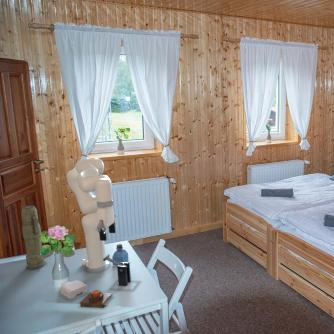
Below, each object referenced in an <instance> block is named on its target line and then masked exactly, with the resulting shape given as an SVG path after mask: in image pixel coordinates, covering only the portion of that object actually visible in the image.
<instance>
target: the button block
mask: <svg viewBox="0 0 334 334" xmlns="http://www.w3.org/2000/svg"><path fill="white" fill-rule="evenodd" d="M99 291H100V295H99V296H97V297H92V291H91V292H89V293H87V295H86V296H85V297H83V299H82V300H81V301H80V302H79V306H80V307H81V308H93V309H104V308H105V306H106V303H107V302H108V300H110V298H111V297H113V296H112V295H113V294H112V293H109V292H108V293H107V292H104V291H102V290H99Z"/></svg>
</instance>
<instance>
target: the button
mask: <svg viewBox="0 0 334 334" xmlns="http://www.w3.org/2000/svg"><path fill="white" fill-rule="evenodd" d="M100 291H101V290H99V289H93V290H92V291H91V293H92V297H97V296H99V295H100Z"/></svg>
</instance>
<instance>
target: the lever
mask: <svg viewBox="0 0 334 334" xmlns="http://www.w3.org/2000/svg"><path fill="white" fill-rule="evenodd" d="M105 260H106V261H107V262H109V263H112V265H113V264H115V265H114V266H116V267H117V266H126V269H127V267H128V266H127V265H125V264H122V265H121V264H119V263H118V262H116V261H114V260H112V258H111V257H110V254H107V255H106V257H105V258H104V259H103V261H105Z"/></svg>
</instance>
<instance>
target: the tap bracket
mask: <svg viewBox="0 0 334 334" xmlns="http://www.w3.org/2000/svg"><path fill="white" fill-rule="evenodd" d="M122 264H125V265H127V266H128V267H127V269H126V266H117V265H116V270H117V281H118V283H117V284H118V287H128V283H131V282H132V278H131V277H132V276H131V263H130V261H129V262H121V265H122Z"/></svg>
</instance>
